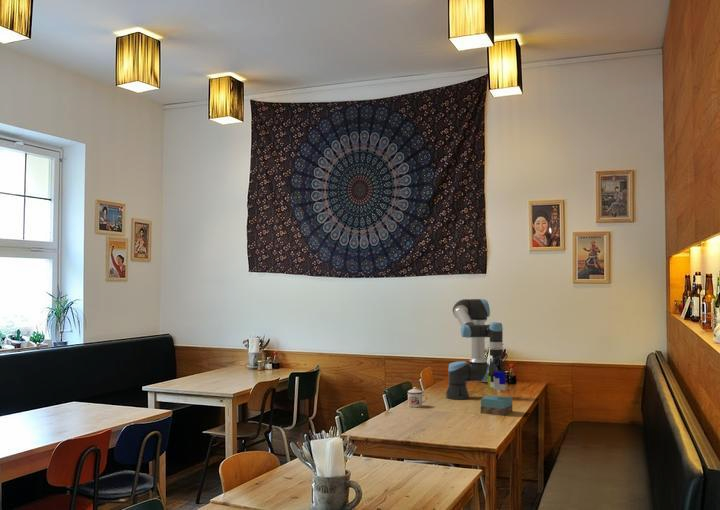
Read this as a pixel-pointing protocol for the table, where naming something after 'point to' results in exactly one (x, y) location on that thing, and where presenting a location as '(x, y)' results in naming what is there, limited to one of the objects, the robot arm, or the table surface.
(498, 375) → the puzzle toy
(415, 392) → the teacup with lid
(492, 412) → the base block
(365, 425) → the table surface
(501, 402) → the top block
